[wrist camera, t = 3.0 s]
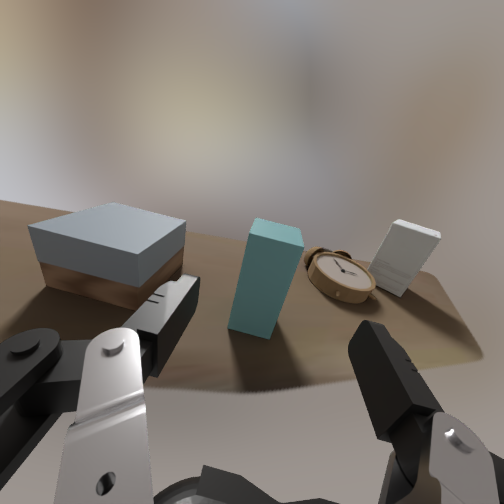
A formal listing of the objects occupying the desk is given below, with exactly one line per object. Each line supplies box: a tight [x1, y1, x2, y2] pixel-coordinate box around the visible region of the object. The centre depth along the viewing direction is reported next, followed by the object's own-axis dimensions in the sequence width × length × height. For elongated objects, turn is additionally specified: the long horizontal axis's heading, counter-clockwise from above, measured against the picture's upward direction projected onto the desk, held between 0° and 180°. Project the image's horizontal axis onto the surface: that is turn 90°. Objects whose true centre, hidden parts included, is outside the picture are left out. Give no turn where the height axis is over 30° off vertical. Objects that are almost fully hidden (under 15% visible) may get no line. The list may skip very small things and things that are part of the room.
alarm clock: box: [304, 247, 376, 303], centre depth 39 cm, size 11×5×15 cm
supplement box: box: [367, 219, 441, 297], centre depth 40 cm, size 7×7×13 cm
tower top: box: [27, 202, 186, 287], centre depth 25 cm, size 11×11×4 cm
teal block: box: [228, 218, 304, 340], centre depth 23 cm, size 5×5×12 cm
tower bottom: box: [39, 246, 184, 311], centre depth 27 cm, size 11×11×4 cm
